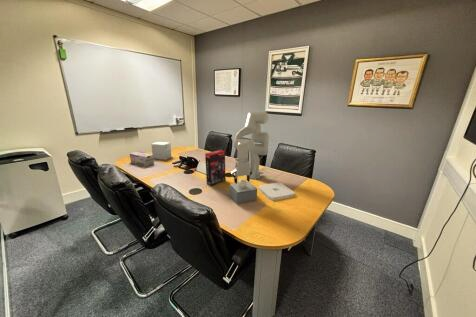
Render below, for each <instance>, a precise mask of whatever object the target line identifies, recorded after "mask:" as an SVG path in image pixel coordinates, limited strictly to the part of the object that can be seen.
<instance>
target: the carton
mask: <svg viewBox="0 0 476 317" xmlns="http://www.w3.org/2000/svg"><path fill="white" fill-rule="evenodd" d="M228 196H229V197H230V198H231V199H232V201H233V202H234V203H235V204H236V205H239V204H240V205H241V204H245V203H249V202H252V201H253V202H254V201H257V200H258V199H257V198H258V189H257V190H252V191H246V192H240V193H237V192H236V191H235V190H234V189H233V187H232V186H231V185H228Z"/></svg>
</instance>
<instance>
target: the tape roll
mask: <svg viewBox="0 0 476 317" xmlns="http://www.w3.org/2000/svg"><path fill="white" fill-rule="evenodd" d="M246 182H247V179H243V178H240V179H237V183H238V188H246Z"/></svg>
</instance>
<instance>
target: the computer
mask: <svg viewBox="0 0 476 317" xmlns="http://www.w3.org/2000/svg"><path fill="white" fill-rule="evenodd" d="M258 191H260V192H261V194H262V195H264V196H265V197H266V198H267V199H268V200H270V201H278V200H282V199H283V200H284V199H287V198H293V197H295V192H294V191H293V190H292V189H291V188H289V187H287V185H285V184H284V183H282V182H271V183H266V184H261V185H258Z"/></svg>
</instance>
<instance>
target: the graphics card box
mask: <svg viewBox="0 0 476 317" xmlns="http://www.w3.org/2000/svg"><path fill="white" fill-rule="evenodd" d="M204 156H205V157H204V158H205V178H206V185H208V186H211V187H213V186H214V185H217V184H220V183H222V182H225V181H226V151H225V150H222V149H219V150H215V151H209V152H207V153H206V152H205V154H204Z"/></svg>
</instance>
